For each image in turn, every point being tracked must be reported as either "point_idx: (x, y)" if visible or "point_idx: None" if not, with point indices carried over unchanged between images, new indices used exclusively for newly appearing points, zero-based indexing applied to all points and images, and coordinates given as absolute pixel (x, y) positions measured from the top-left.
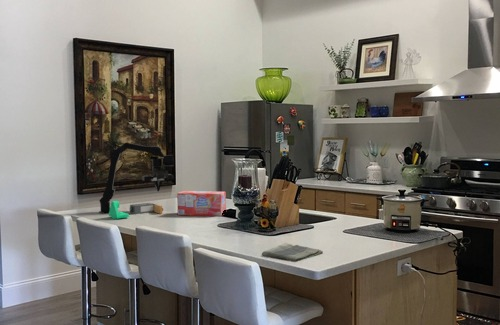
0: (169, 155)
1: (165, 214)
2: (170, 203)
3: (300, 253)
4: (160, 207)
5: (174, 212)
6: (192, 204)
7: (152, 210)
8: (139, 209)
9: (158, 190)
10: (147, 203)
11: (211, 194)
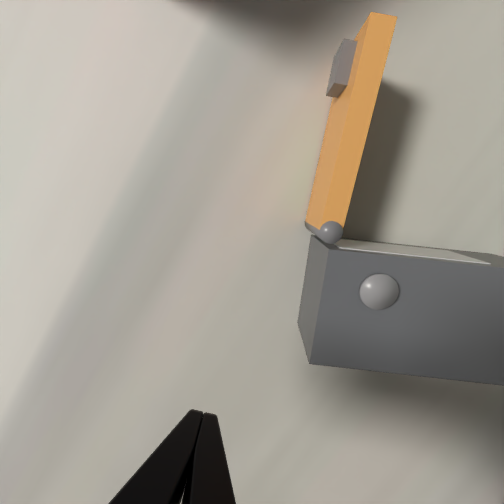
0: None
1: (334, 16)
2: (13, 486)
3: None
4: (387, 25)
5: (206, 62)
6: None
7: None
8: (478, 257)
9: (200, 420)
10: (383, 305)
11: None
